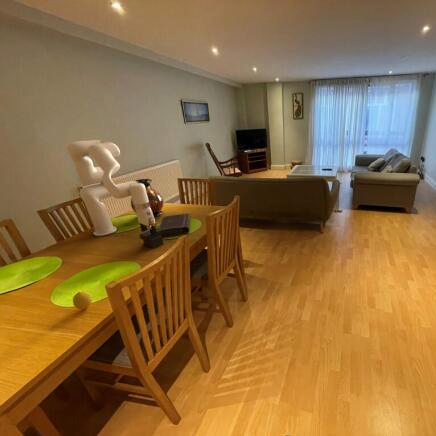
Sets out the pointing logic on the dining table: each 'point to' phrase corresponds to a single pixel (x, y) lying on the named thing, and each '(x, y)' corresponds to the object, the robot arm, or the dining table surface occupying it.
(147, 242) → the pad base
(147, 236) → the pad top
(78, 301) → the brown egg shape
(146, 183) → the amphora vase
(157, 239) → the pad mid
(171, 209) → the dining table surface
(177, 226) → the diary
